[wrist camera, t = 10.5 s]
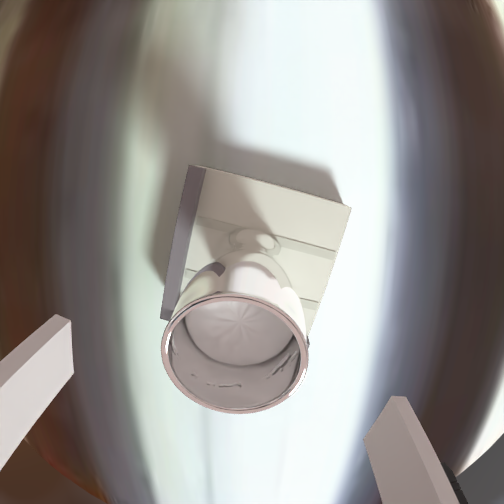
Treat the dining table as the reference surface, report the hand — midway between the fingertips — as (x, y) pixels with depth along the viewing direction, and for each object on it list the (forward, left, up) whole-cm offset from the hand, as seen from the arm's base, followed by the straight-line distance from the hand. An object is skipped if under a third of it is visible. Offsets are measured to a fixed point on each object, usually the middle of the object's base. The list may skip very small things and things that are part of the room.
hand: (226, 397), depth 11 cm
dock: (0, 0, -20) cm, 20 cm away
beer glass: (0, 0, -17) cm, 18 cm away
